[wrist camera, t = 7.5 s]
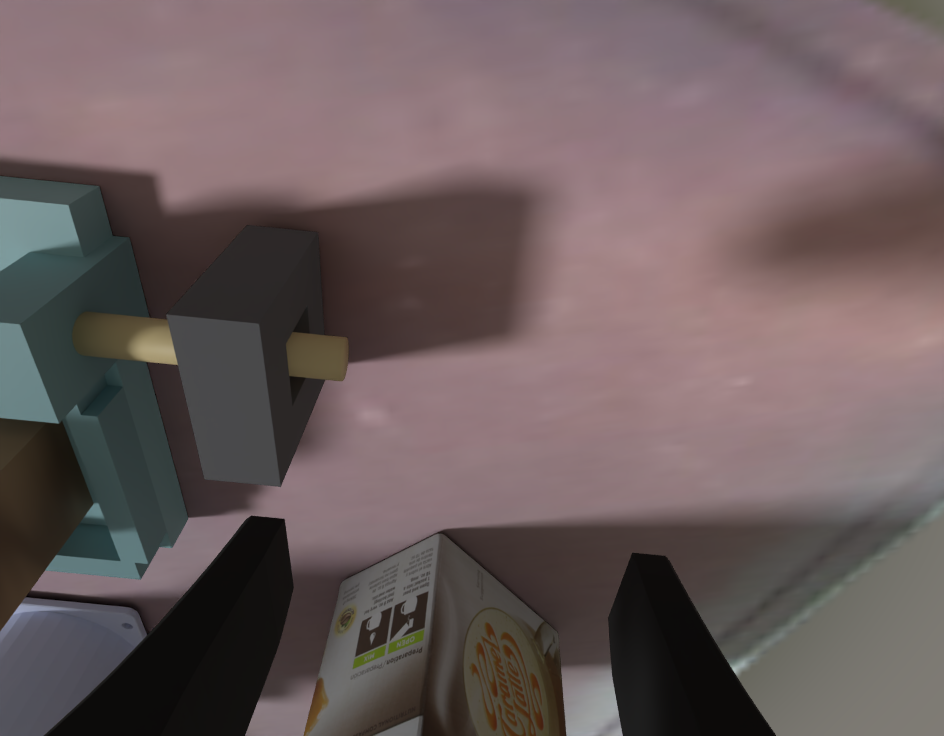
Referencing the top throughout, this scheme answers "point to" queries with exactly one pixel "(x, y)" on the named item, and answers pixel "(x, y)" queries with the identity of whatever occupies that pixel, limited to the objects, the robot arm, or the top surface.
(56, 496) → the brown wooden block
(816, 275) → the top surface
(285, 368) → the block
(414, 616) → the coffee box
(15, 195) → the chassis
